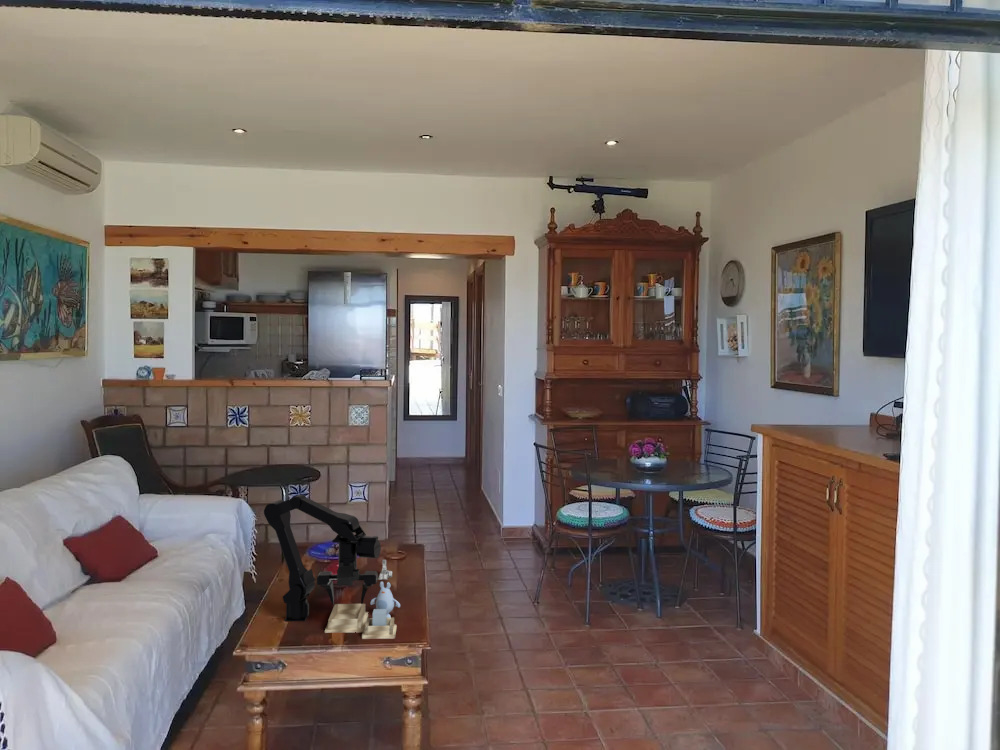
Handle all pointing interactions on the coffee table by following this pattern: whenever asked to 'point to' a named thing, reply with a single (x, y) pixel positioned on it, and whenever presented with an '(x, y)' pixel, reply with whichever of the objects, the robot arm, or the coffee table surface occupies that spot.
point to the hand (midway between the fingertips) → (347, 604)
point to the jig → (358, 622)
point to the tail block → (380, 617)
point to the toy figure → (385, 599)
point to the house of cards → (384, 572)
